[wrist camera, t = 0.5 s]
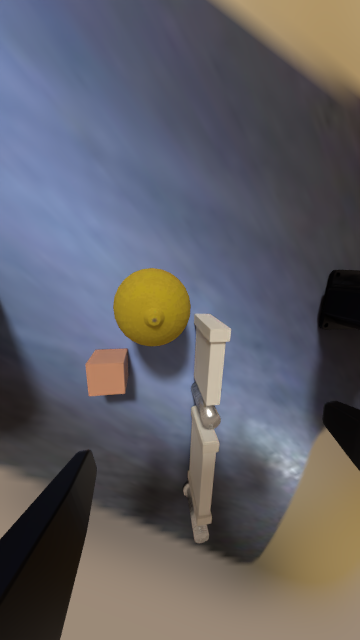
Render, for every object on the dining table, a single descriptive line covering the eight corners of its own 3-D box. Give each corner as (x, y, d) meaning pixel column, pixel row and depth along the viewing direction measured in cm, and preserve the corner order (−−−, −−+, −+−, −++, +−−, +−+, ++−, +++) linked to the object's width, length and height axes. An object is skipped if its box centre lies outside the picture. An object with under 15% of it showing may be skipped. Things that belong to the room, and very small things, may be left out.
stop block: (127, 348, 19) (123, 362, 16) (128, 375, 19) (124, 393, 17) (95, 349, 18) (85, 364, 15) (98, 377, 19) (88, 396, 16)
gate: (191, 406, 21) (203, 444, 16) (204, 405, 21) (219, 442, 17) (187, 477, 24) (197, 526, 19) (199, 475, 24) (211, 524, 19)
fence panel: (209, 313, 19) (231, 329, 14) (205, 374, 21) (223, 406, 16) (194, 314, 19) (210, 329, 14) (191, 375, 21) (204, 408, 16)
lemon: (118, 322, 18) (96, 360, 10) (126, 263, 17) (107, 256, 9) (175, 330, 19) (192, 370, 11) (186, 275, 18) (213, 278, 10)
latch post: (201, 478, 25) (213, 528, 20) (200, 492, 25) (211, 543, 21) (183, 481, 24) (191, 532, 20) (182, 494, 25) (190, 547, 20)
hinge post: (205, 380, 21) (221, 412, 16) (204, 393, 21) (219, 428, 17) (191, 381, 21) (203, 414, 16) (190, 394, 21) (202, 430, 16)
